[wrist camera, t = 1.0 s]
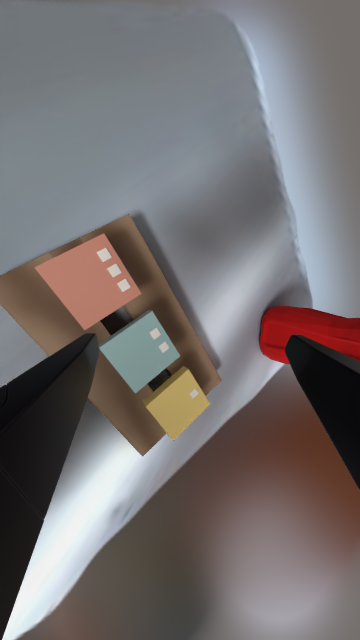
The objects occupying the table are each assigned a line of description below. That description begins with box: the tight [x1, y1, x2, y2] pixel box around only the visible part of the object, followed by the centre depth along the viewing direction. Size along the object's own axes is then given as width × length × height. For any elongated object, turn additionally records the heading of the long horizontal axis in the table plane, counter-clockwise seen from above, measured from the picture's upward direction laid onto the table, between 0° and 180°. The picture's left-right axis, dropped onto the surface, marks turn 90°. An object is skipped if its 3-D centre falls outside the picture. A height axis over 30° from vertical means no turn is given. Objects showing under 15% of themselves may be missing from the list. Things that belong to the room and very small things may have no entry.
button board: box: [0, 214, 221, 456], centre depth 23 cm, size 14×24×2 cm, turn 32°
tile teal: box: [99, 310, 180, 393], centre depth 21 cm, size 6×6×3 cm
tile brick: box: [34, 233, 141, 330], centre depth 18 cm, size 6×6×3 cm
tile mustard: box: [143, 366, 210, 441], centre depth 24 cm, size 6×6×3 cm
